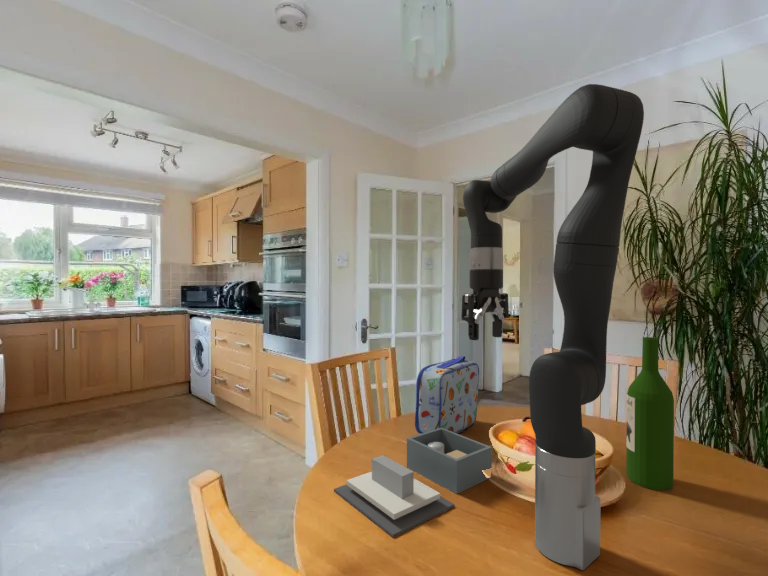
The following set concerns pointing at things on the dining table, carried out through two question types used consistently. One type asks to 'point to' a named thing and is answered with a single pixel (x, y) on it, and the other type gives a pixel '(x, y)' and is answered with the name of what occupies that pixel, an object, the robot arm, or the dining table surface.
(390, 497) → the lid
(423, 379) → the lunch box
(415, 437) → the storage box
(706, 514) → the dining table surface
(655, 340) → the wine bottle
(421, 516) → the mat
